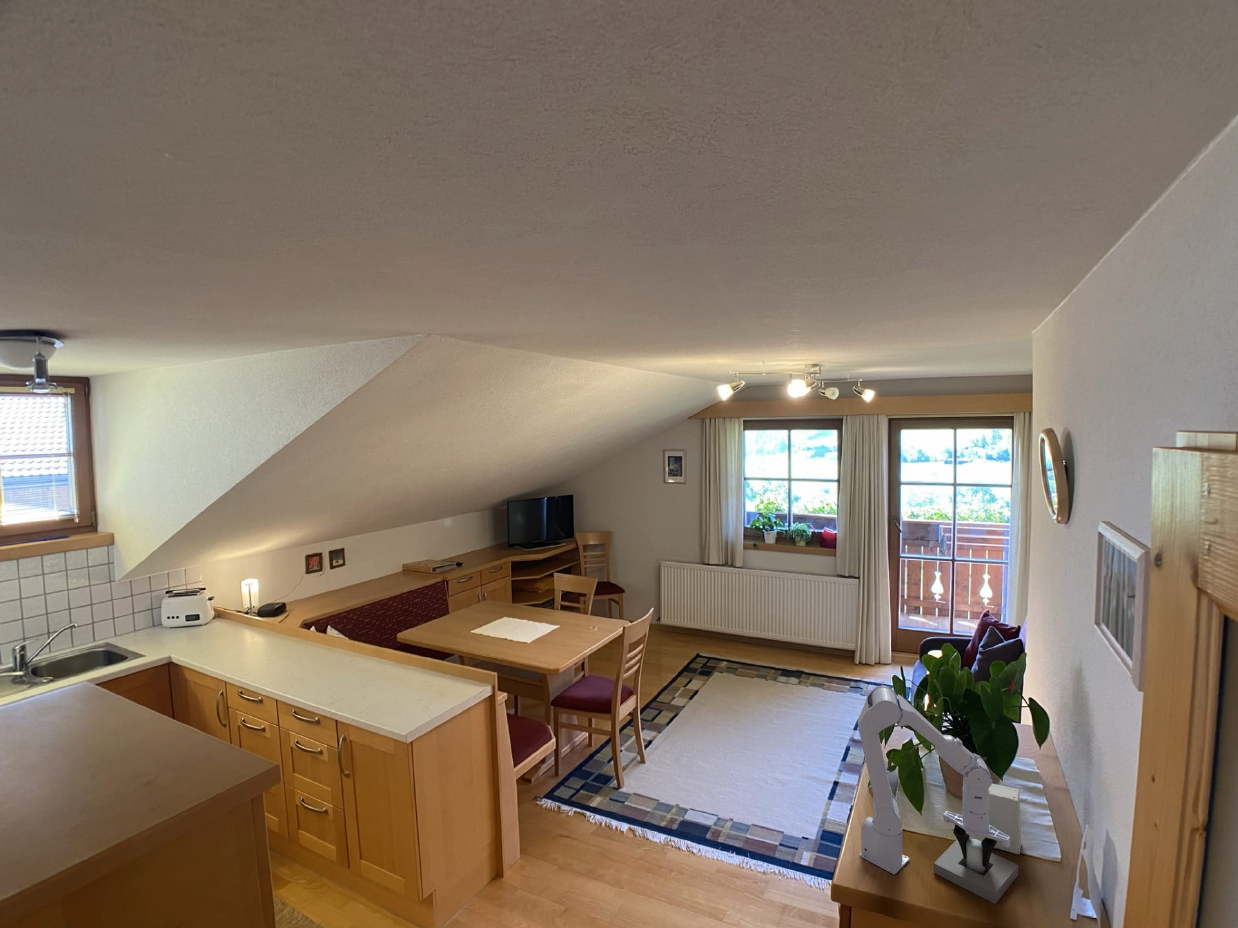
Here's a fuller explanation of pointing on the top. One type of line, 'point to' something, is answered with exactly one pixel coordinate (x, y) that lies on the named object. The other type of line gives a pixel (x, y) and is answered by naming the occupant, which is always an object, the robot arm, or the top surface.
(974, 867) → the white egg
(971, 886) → the dock
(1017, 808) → the skincare box
